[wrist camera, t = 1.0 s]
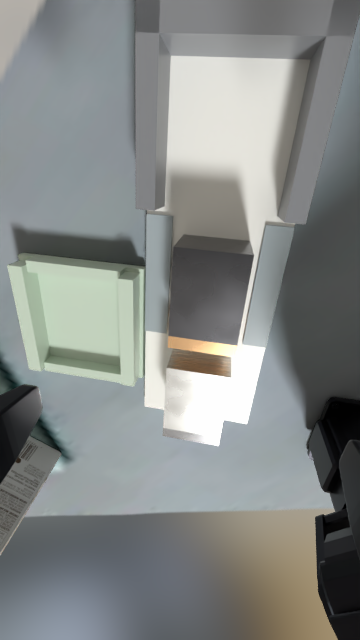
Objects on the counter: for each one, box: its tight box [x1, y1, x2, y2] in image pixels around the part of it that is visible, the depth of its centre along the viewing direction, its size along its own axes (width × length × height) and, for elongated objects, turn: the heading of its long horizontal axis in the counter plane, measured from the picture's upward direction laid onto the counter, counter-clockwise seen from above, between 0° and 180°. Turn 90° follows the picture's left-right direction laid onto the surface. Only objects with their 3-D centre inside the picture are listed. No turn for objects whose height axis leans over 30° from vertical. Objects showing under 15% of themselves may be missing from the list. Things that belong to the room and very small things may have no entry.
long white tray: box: [135, 0, 360, 424], centre depth 18 cm, size 9×24×3 cm, turn 176°
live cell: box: [168, 234, 254, 357], centre depth 17 cm, size 4×6×4 cm, turn 176°
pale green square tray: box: [7, 253, 146, 387], centre depth 21 cm, size 9×9×2 cm
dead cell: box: [163, 348, 231, 446], centre depth 21 cm, size 4×6×4 cm, turn 176°
